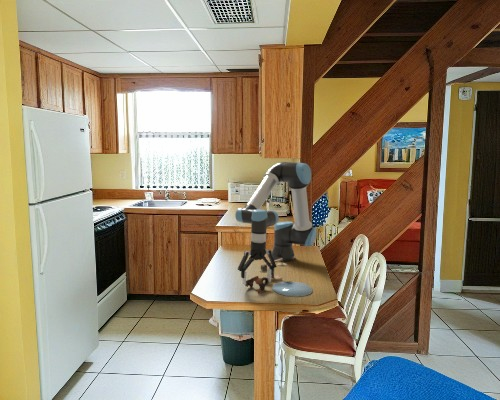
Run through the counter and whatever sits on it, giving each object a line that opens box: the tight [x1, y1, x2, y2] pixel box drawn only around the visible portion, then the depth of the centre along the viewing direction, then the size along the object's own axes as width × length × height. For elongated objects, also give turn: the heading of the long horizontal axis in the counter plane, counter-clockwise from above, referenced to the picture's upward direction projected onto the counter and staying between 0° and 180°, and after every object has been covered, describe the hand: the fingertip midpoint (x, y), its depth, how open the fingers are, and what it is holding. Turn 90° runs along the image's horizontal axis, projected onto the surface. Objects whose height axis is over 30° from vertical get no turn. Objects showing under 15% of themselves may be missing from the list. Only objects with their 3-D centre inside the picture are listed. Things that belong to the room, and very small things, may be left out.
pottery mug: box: [244, 275, 269, 294], centre depth 203 cm, size 12×10×8 cm
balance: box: [258, 258, 288, 283], centre depth 218 cm, size 16×5×11 cm, turn 114°
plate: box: [272, 281, 313, 298], centre depth 206 cm, size 20×20×1 cm
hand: (256, 282), depth 204 cm, fingers open, 13 cm apart
